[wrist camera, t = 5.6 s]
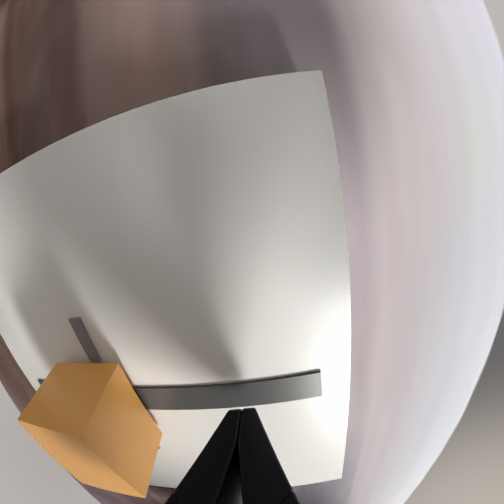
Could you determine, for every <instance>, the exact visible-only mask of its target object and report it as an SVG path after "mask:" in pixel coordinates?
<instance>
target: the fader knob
mask: <svg viewBox="0 0 504 504" xmlns="http://www.w3.org/2000/svg"><path fill="white" fill-rule="evenodd" d="M18 421H19V422H20V423H21V424H22V426H23V427H24V428H25V429H26V430H27V431H28V432H29V434H30V435H31V436H32V437H33V438H34V439H35V440H36V441H37V442H38V443H39V444H40V445H41V446H42V447H43V448H44V449H45V450H46V451H47V452H48V453H49V454H50V455H51V456H52V457H53V458H54V459H55V460H56V461H57V462H58V463H59V464H61V466H63V467H64V468H65V469H66V470H67V471H68V472H69V473H70V474H72V475H73V476H74V477H75V478H76V479H78V480H79V481H80V482H81V483H84V484H87V485H90V486H94V487H97V488H101V489H105V490H109V491H113V492H117V493H122V494H126V495H131V496H136V497H142V498H146V494H147V490H148V487H149V483H150V479H151V475H152V471H153V467H154V463H155V460H156V456H157V452H158V448H159V445H160V441H161V437H162V432H161V431H160V429H159V428H158V427H157V425H156V424H155V422H154V421H153V419H152V418H151V416H150V415H149V413H148V412H147V410H146V409H145V407H144V405H143V404H142V402H141V401H140V399H139V398H138V396H137V394H136V393H135V391H134V389H133V388H132V386H131V384H130V383H129V381H128V379H127V377H126V376H125V374H124V372H123V370H122V369H121V367H120V365H119V363H69V362H57V363H56V365H55V366H54V367H53V369H52V370H51V371H50V373H49V374H48V376H47V377H46V378H45V380H44V381H43V383H42V384H41V385H40V387H39V388H38V390H37V391H36V393H35V394H34V396H33V397H32V398H31V400H30V401H29V403H28V404H27V406H26V407H25V409H24V410H23V412H22V413H21V415H20V416H19V418H18Z"/></svg>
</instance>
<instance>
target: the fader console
mask: <svg viewBox="0 0 504 504" xmlns="http://www.w3.org/2000/svg"><path fill="white" fill-rule="evenodd" d="M0 334H1V336H2V338H3V339H4V341H5V343H6V345H7V347H8V348H9V350H10V352H11V353H12V355H13V357H14V358H15V360H16V362H17V363H18V365H19V367H20V368H21V370H22V371H23V373H24V374H25V376H26V377H27V379H28V380H29V382H30V383H31V385H32V386H33V387H34V389H35V390H36V391H37V390H38V388H39V387H40V385H41V384H42V383H43V381H44V380H45V378H46V377H47V376H48V374H49V373H50V371H51V370H52V369H53V367H54V366H55V365H56V363H57V362H69V363H119V365H120V367H121V369H122V370H123V372H124V374H125V376H126V377H127V379H128V381H129V383H130V384H131V386H132V388H133V389H134V391H135V393H136V394H137V396H138V398H139V399H140V401H141V402H142V404H143V405H144V407H145V409H146V410H147V412H148V413H149V415H150V416H151V418H152V419H153V421H154V422H155V424H156V425H157V427H158V428H159V429H160V431H161V432H162V437H161V441H160V445H159V448H158V452H157V456H156V460H155V463H154V467H153V471H152V475H151V479H150V483H149V485H153V486H161V487H170V488H177V486H178V485H179V483H180V482H181V481H182V479H183V478H184V476H185V475H186V473H187V472H188V471H189V469H190V468H191V466H192V465H193V463H194V462H195V460H196V459H197V457H198V456H199V454H200V453H201V451H202V450H203V449H204V447H205V445H206V444H207V442H208V441H209V439H210V438H211V436H212V435H213V433H214V432H215V430H216V429H217V427H218V426H219V424H220V422H221V421H222V419H223V418H224V416H225V415H226V413H227V412H228V411H229V410H232V409H242V410H243V409H244V408H256V410H257V413H258V415H259V417H260V420H261V422H262V424H263V426H264V429H265V431H266V433H267V435H268V438H269V440H270V442H271V444H272V447H273V449H274V451H275V453H276V455H277V457H278V460H279V462H280V464H281V466H282V468H283V470H284V472H285V474H286V477H287V479H288V481H289V483H290V485H291V486H299V485H306V484H312V483H318V482H324V481H329V480H334V479H339V478H342V470H343V462H344V454H345V445H346V435H347V423H348V410H349V393H350V369H351V300H350V275H349V257H348V243H347V230H346V219H345V209H344V200H343V191H342V183H341V175H340V168H339V161H338V154H337V147H336V141H335V135H334V129H333V123H332V118H331V113H330V107H329V102H328V97H327V92H326V88H325V83H324V78H323V74H322V70H316V71H304V72H294V73H285V74H278V75H270V76H264V77H257V78H251V79H245V80H240V81H235V82H230V83H225V84H220V85H216V86H211V87H207V88H203V89H199V90H195V91H191V92H187V93H183V94H180V95H176V96H172V97H169V98H166V99H162V100H159V101H156V102H153V103H150V104H147V105H144V106H141V107H138V108H135V109H132V110H129V111H126V112H124V113H121V114H118V115H116V116H113V117H111V118H108V119H106V120H103V121H101V122H98V123H96V124H93V125H91V126H89V127H87V128H84V129H82V130H80V131H78V132H75V133H73V134H71V135H69V136H67V137H65V138H63V139H61V140H59V141H57V142H55V143H53V144H51V145H49V146H47V147H45V148H43V149H41V150H39V151H37V152H36V153H34V154H32V155H30V156H28V157H27V158H25V159H23V160H21V161H20V162H18V163H16V164H15V165H13V166H11V167H10V168H8V169H7V170H5V171H3V172H2V173H0Z"/></svg>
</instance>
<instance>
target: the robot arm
mask: <svg viewBox="0 0 504 504" xmlns="http://www.w3.org/2000/svg"><path fill="white" fill-rule="evenodd" d="M165 504H300V503H299V501H298V499H297V497H296V495H295V493H294V491H293V489H292V487H291V485H290V483H289V481H288V479H287V477H286V474H285V472H284V470H283V468H282V466H281V464H280V462H279V460H278V457H277V455H276V453H275V451H274V449H273V447H272V444H271V442H270V440H269V438H268V435H267V433H266V431H265V429H264V426H263V424H262V422H261V420H260V417H259V415H258V413H257V410H256V408H244V409H243V410H242V409H232V410H229V411H228V412H227V413H226V415H225V416H224V418H223V419H222V421H221V422H220V424H219V426H218V427H217V429H216V430H215V432H214V433H213V435H212V436H211V438H210V439H209V441H208V442H207V444H206V445H205V447H204V449H203V450H202V451H201V453H200V454H199V456H198V457H197V459H196V460H195V462H194V463H193V465H192V466H191V468H190V469H189V471H188V472H187V473H186V475H185V476H184V478H183V479H182V481H181V482H180V483H179V485H178V486H177V488H176V489H175V490H174V493H172V494H171V496H170V497H169V498H168V500H167V501H166V502H165Z"/></svg>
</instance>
